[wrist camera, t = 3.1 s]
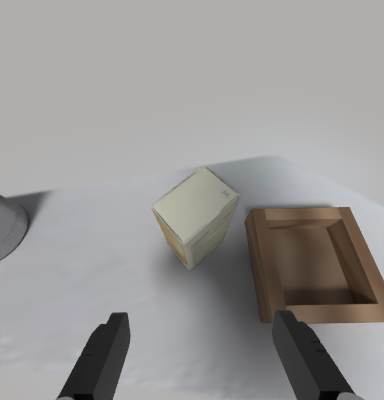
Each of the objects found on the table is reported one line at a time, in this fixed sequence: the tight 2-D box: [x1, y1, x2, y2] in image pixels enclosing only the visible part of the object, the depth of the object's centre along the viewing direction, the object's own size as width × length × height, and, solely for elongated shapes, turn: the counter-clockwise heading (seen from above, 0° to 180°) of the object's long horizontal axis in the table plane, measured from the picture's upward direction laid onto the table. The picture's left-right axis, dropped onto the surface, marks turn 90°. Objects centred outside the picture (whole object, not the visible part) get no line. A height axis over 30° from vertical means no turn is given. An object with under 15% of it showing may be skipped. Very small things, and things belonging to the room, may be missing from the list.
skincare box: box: [151, 166, 240, 270], centre depth 21 cm, size 6×4×12 cm
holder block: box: [245, 207, 384, 324], centre depth 23 cm, size 12×12×4 cm
